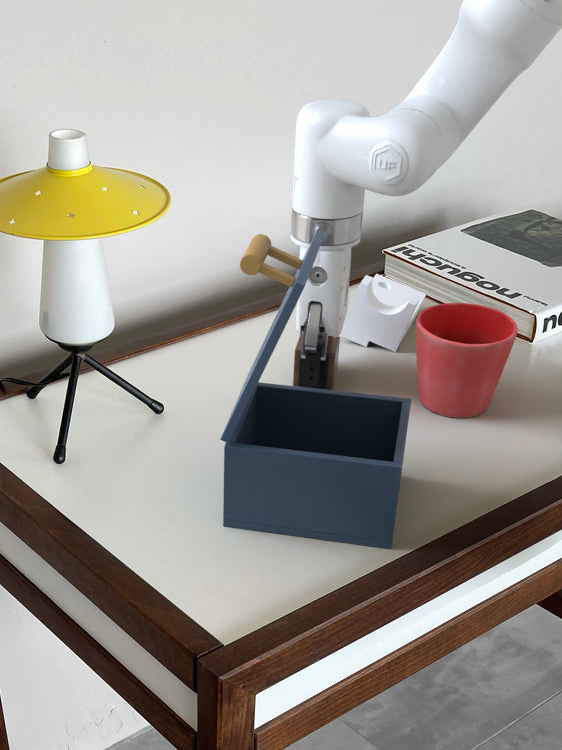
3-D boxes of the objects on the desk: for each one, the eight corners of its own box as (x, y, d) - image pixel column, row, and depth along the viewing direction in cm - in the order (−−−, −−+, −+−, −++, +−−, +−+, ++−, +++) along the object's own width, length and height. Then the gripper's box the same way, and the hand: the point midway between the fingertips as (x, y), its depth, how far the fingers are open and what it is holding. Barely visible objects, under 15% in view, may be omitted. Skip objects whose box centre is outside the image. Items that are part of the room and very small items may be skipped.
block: (337, 372, 120) (340, 336, 118) (332, 390, 117) (335, 353, 114) (298, 368, 121) (300, 332, 119) (292, 385, 118) (294, 349, 115)
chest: (401, 475, 102) (411, 398, 97) (391, 549, 92) (402, 467, 87) (248, 456, 105) (251, 381, 100) (222, 526, 95) (224, 446, 90)
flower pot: (523, 404, 113) (539, 324, 108) (460, 436, 108) (475, 353, 102) (448, 370, 120) (460, 293, 115) (385, 399, 115) (395, 319, 109)
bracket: (392, 358, 125) (415, 305, 120) (340, 335, 126) (360, 282, 121) (416, 317, 135) (438, 267, 130) (367, 296, 136) (387, 246, 131)
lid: (326, 231, 90) (268, 204, 90) (304, 286, 80) (240, 256, 80) (254, 378, 100) (203, 354, 100) (228, 443, 90) (170, 417, 90)
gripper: (352, 256, 101) (338, 416, 111) (369, 202, 114) (355, 349, 125) (278, 250, 102) (271, 408, 113) (303, 197, 116) (294, 343, 126)
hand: (315, 375), depth 119 cm, fingers closed on block, 4 cm apart
